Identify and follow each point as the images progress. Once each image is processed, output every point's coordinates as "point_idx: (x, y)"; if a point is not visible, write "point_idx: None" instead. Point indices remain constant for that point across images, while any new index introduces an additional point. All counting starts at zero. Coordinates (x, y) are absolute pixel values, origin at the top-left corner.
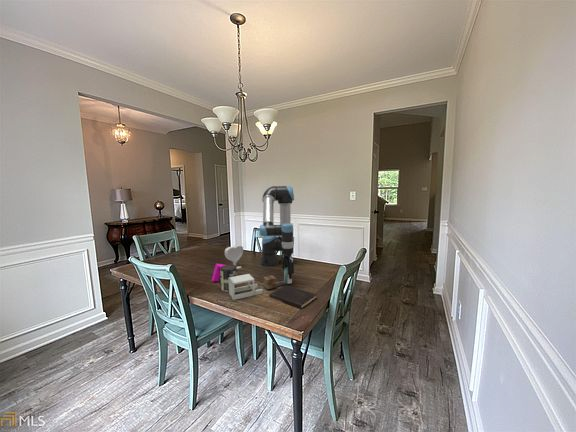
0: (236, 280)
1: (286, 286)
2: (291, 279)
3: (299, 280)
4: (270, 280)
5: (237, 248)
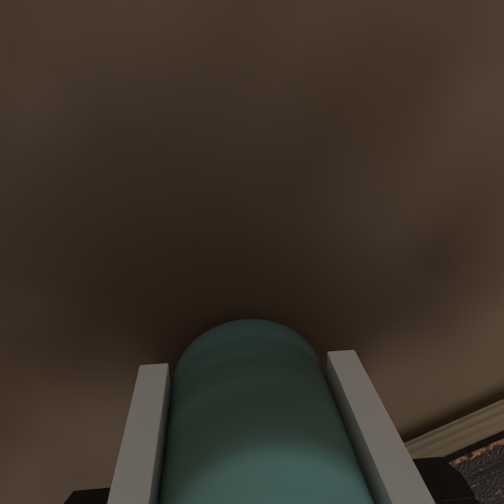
0: None
1: None
2: (384, 417)
3: (157, 21)
4: None
5: None
